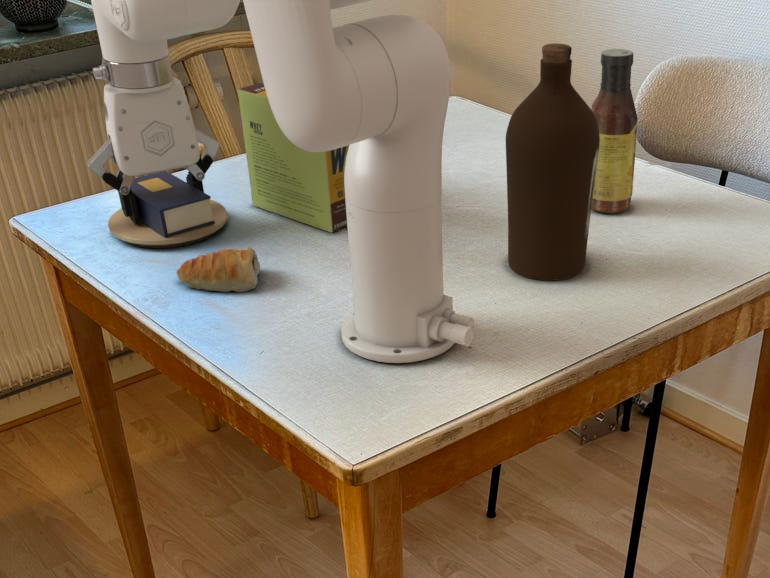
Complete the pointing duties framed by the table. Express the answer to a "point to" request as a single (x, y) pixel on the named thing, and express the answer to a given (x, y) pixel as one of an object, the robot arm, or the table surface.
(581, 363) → the table surface
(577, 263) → the olive oil
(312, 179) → the protein box
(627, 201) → the sauce bottle
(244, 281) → the pastry
